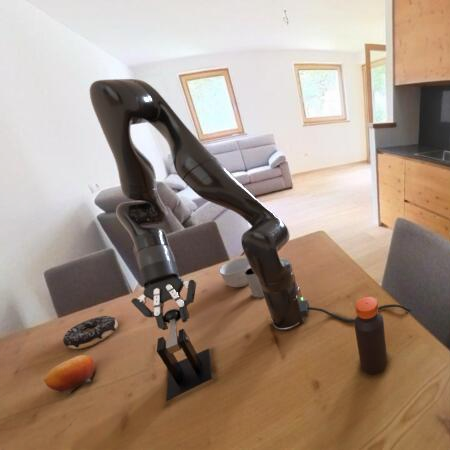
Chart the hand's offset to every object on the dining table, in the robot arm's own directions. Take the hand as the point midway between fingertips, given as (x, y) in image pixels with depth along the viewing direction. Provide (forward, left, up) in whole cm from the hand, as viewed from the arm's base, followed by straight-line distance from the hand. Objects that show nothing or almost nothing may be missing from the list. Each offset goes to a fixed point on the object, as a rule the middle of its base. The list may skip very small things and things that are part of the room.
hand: (175, 325), depth 72 cm
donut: (+33, -15, -11) cm, 38 cm away
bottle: (-49, +15, -11) cm, 53 cm away
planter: (-13, -22, -11) cm, 28 cm away
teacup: (-5, -33, -11) cm, 35 cm away
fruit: (+25, +2, -11) cm, 27 cm away
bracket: (-3, +7, -11) cm, 13 cm away
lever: (-1, +2, -1) cm, 3 cm away
